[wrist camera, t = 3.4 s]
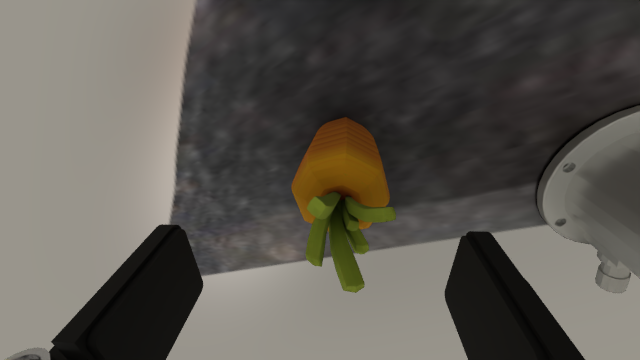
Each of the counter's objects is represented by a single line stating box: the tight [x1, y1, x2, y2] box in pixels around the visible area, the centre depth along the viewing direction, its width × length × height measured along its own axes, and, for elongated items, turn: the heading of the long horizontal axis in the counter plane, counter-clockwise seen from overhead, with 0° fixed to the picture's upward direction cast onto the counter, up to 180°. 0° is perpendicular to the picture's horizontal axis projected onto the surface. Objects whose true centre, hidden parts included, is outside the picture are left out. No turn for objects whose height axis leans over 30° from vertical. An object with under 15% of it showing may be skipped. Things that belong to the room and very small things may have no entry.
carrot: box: [291, 117, 396, 293], centre depth 16 cm, size 5×5×15 cm
